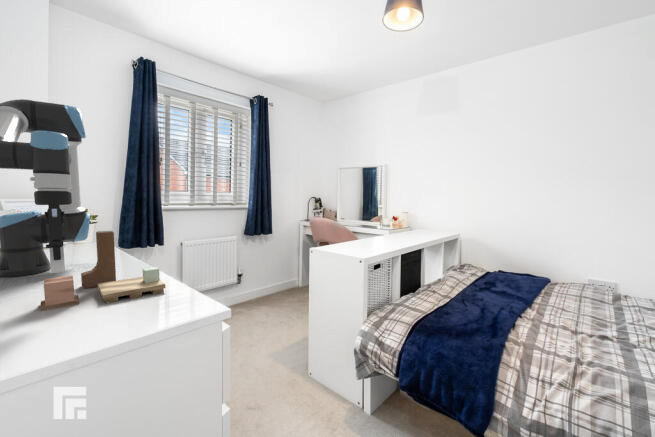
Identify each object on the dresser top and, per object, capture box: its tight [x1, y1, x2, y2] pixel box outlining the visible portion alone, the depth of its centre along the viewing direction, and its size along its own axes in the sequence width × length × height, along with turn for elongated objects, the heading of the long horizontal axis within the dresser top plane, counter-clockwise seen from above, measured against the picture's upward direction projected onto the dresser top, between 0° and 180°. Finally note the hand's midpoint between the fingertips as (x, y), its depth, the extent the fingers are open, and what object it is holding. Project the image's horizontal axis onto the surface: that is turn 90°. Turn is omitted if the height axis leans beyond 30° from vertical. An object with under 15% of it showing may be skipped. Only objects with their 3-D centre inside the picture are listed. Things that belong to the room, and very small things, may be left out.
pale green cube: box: [142, 266, 161, 283], centre depth 99 cm, size 4×4×4 cm
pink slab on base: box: [39, 275, 80, 312], centre depth 84 cm, size 6×8×7 cm
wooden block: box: [80, 230, 117, 289], centre depth 102 cm, size 9×4×18 cm, turn 133°
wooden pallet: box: [97, 276, 166, 304], centre depth 96 cm, size 14×16×2 cm
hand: (57, 267), depth 83 cm, fingers open, 13 cm apart
